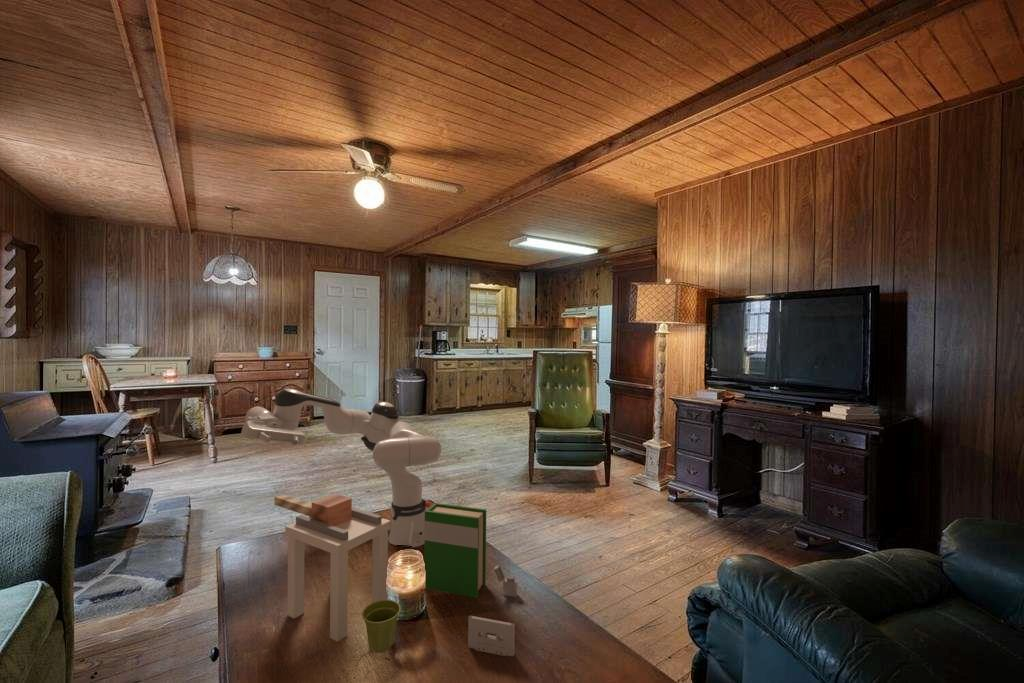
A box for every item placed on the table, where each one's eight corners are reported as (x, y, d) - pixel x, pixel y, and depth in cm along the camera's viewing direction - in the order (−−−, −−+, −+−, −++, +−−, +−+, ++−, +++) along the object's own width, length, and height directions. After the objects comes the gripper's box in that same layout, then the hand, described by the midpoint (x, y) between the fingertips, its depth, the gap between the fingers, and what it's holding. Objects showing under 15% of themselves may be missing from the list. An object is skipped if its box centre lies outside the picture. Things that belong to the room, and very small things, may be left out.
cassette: (467, 649, 111) (467, 618, 111) (469, 644, 113) (470, 614, 113) (513, 658, 108) (513, 627, 108) (515, 653, 110) (515, 622, 110)
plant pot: (363, 662, 106) (363, 626, 106) (360, 637, 115) (360, 604, 115) (403, 651, 110) (403, 616, 110) (397, 628, 118) (397, 596, 118)
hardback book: (485, 585, 140) (486, 509, 139) (477, 598, 133) (478, 518, 132) (434, 575, 145) (435, 502, 144) (424, 588, 138) (424, 511, 137)
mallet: (265, 507, 136) (266, 488, 136) (290, 499, 143) (290, 481, 143) (327, 529, 122) (327, 507, 121) (351, 518, 128) (351, 498, 128)
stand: (284, 615, 123) (285, 519, 123) (338, 584, 139) (339, 499, 139) (337, 643, 112) (338, 537, 112) (389, 606, 128) (390, 513, 128)
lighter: (517, 594, 135) (517, 568, 135) (515, 597, 133) (516, 571, 133) (495, 590, 137) (495, 564, 137) (493, 593, 135) (493, 567, 135)
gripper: (293, 439, 169) (308, 452, 160) (235, 433, 154) (248, 447, 145) (299, 423, 170) (314, 436, 161) (242, 415, 155) (255, 428, 145)
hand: (282, 441), depth 153 cm, fingers open, 8 cm apart
